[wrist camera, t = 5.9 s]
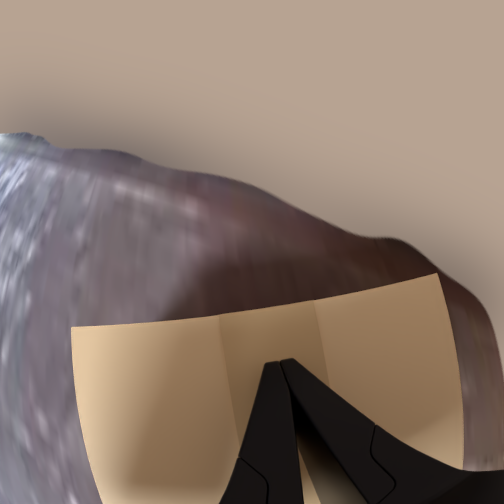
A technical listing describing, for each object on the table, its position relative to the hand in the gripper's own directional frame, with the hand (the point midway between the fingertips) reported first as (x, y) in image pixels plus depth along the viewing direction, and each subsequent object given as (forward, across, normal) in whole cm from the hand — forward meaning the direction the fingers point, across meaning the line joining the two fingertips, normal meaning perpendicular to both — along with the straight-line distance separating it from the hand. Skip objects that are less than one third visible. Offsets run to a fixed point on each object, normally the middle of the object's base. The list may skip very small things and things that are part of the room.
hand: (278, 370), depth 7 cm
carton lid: (-1, 0, +2) cm, 3 cm away
